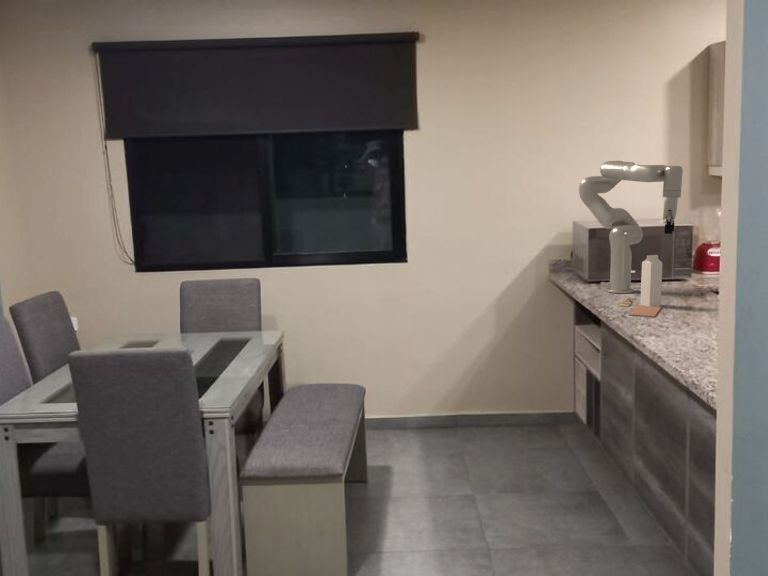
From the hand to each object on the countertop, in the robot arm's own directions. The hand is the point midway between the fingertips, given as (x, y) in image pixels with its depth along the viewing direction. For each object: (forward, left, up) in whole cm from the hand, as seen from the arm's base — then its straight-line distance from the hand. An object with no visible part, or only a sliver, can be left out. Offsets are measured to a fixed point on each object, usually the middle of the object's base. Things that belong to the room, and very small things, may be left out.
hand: (669, 232), depth 337 cm
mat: (-4, -34, -30) cm, 46 cm away
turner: (-14, -19, -30) cm, 38 cm away
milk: (-4, -19, -30) cm, 36 cm away
